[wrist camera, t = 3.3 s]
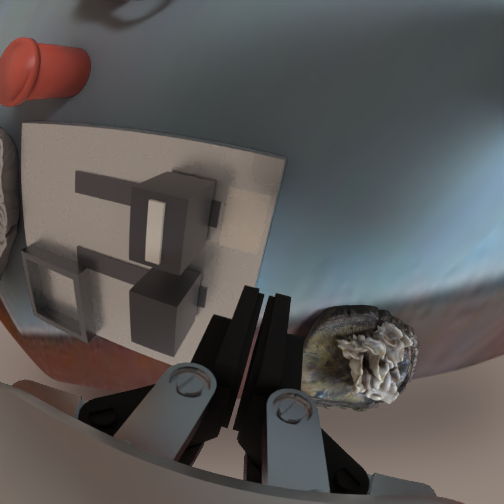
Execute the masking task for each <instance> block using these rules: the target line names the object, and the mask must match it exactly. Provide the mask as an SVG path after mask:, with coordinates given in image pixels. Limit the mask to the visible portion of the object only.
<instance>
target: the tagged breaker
mask: <svg viewBox="0 0 504 504" xmlns="http://www.w3.org/2000/svg"><path fill="white" fill-rule="evenodd" d="M214 186H215V181H211V180H206V179H202V178H197V177H193V176H188V175H183V174H178V173H174V172H169V171H167V172H165V173H162V174H160V175H157V176H155V177H153V178H150V179H148V180H146V181H143V182H141V183H139V184H137V185H134V186H132V191H131V207H130V229H129V260H131V261H134V262H137V263H140V264H143V265H146V266H149V267H153V268H156V269H159V270H162V271H165V272H169V273H172V274H175V275H178V276H180V275H181V274H182V273H183V271H184V270H185V269H186V268H187V267H188V265H189V264H190V263H191V262H192V260H193V259H194V258H195V257H196V256H197V254H198V253H199V252H200V251H201V249H202V248H203V247H204V246H205V243H206V236H207V230H208V223H209V217H210V211H211V205H212V198H213V192H214Z"/></svg>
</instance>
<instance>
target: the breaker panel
mask: <svg viewBox="0 0 504 504" xmlns="http://www.w3.org/2000/svg"><path fill="white" fill-rule="evenodd" d="M286 161H287V157H284V156H280V155H276V154H272V153H268V152H263V151H259V150H255V149H250V148H245V147H241V146H236V145H231V144H226V143H221V142H216V141H210V140H205V139H199V138H194V137H188V136H182V135H176V134H169V133H163V132H156V131H148V130H141V129H133V128H124V127H115V126H106V125H95V124H83V123H68V122H50V121H32V122H26V123H22V140H21V184H22V203H23V216H24V227H25V235H26V244H27V247H26V248H24V249H23V250H21V254H22V261H23V266H24V272H25V277H26V282H27V287H28V292H29V296H30V300H31V305H32V309H33V313H34V315H35V316H37V317H38V318H40V319H42V320H44V321H45V322H47V323H49V324H51V325H53V326H55V327H56V328H58V329H60V330H62V331H64V332H66V333H68V334H70V335H72V336H74V337H76V338H78V339H80V340H82V341H84V342H86V343H89V342H90V341H91V339H92V338H93V337H94V336H95V335H96V334H97V335H99V336H101V337H103V338H105V339H108V340H110V341H112V342H115V343H117V344H119V345H122V346H124V347H126V348H129V349H131V350H134V351H136V352H139V353H141V354H144V355H146V356H149V357H152V358H154V359H157V360H159V361H162V362H165V363H168V364H170V365H176V364H178V363H185V362H188V363H190V362H191V360H192V358H193V356H194V354H195V351H196V349H197V347H198V345H199V343H200V341H201V339H202V337H203V335H204V333H205V330H206V328H207V326H208V324H209V322H210V320H211V318H212V316H213V315H214V314H216V315H219V316H223V317H226V318H230V319H232V317H233V314H234V312H235V309H236V306H237V304H238V301H239V299H240V296H241V293H242V291H243V288H244V286H245V285H247V286H251V287H254V288H256V285H257V281H258V277H259V273H260V269H261V265H262V261H263V257H264V253H265V249H266V245H267V240H268V236H269V232H270V228H271V224H272V220H273V216H274V211H275V207H276V203H277V199H278V195H279V191H280V186H281V182H282V178H283V174H284V169H285V165H286ZM167 171H169V172H174V173H178V174H183V175H188V176H193V177H197V178H202V179H206V180H211V181H215V186H214V192H213V198H212V205H211V211H210V217H209V223H208V230H207V236H206V243H205V246H204V247H203V248H202V249H201V251H200V252H199V253H198V254H197V256H196V257H195V258H194V259H193V260H192V262H191V263H190V264H189V265H188V267H187V268H186V269H190V270H193V271H197V272H200V273H201V278H200V286H199V293H198V301H197V309H196V317H195V322H194V323H193V325H192V327H191V329H190V330H189V332H188V334H187V336H186V337H185V339H184V341H183V343H182V344H181V346H180V348H179V350H178V351H177V353H176V355H175V357H171V356H168V355H165V354H162V353H160V352H157V351H154V350H152V349H149V348H147V347H144V346H141V345H139V344H136V343H134V342H131V329H130V308H129V290H130V289H131V288H132V287H133V286H134V285H135V284H136V283H137V282H138V281H139V280H140V279H141V278H142V277H143V276H144V275H145V274H146V273H147V272H148V271H149V270H150V269H151V268H152V267H149V266H146V265H143V264H140V263H137V262H134V261H131V260H129V229H130V207H131V191H132V186H134V185H137V184H139V183H141V182H143V181H146V180H148V179H150V178H153V177H155V176H157V175H160V174H162V173H165V172H167Z"/></svg>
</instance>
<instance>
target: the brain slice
mask: <svg viewBox="0 0 504 504" xmlns="http://www.w3.org/2000/svg"><path fill="white" fill-rule="evenodd" d="M18 180H19V176H18V156H17V149H16V146H15V144H14V142H13V141H12V140H11V137H10V136H9V135H8V134H7V133H6V132H5V131H4V130H3V129H2V128H1V127H0V280H1V278H2V274H3V271H4V269H5V267H6V265H7V263H8V259H9V253H10V250H11V248H12V245H13V242H14V240H15V238H16V236H17V222H18V219H19V210H20V199H19V192H18Z"/></svg>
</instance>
